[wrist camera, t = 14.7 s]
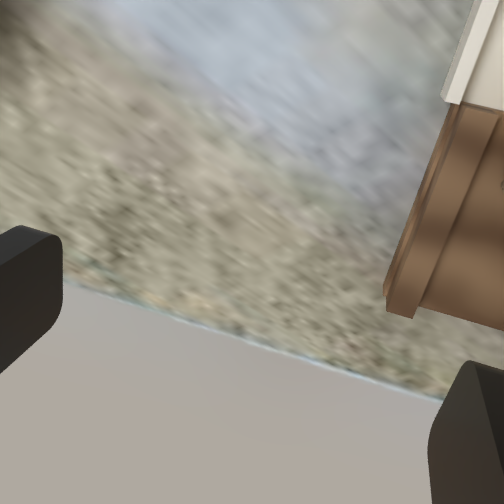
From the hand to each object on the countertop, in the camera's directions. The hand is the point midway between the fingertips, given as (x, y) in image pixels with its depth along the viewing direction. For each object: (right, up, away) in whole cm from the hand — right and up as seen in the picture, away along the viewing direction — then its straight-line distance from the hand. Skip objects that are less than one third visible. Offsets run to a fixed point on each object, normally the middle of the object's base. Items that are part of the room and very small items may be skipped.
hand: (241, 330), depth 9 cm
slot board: (+20, +4, +30) cm, 36 cm away
